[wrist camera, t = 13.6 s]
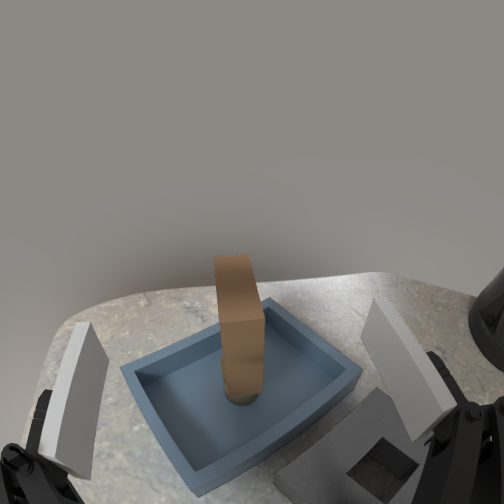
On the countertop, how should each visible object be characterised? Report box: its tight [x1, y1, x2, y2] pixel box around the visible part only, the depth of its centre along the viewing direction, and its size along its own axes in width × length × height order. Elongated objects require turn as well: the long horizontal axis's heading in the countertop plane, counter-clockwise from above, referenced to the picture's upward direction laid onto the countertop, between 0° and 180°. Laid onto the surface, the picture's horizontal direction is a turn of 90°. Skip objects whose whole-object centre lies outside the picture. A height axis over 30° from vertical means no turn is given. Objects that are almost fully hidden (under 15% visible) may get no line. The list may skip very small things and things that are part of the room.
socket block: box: [273, 387, 434, 504], centre depth 14 cm, size 10×10×4 cm
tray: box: [120, 297, 363, 497], centre depth 22 cm, size 16×12×3 cm
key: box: [214, 254, 265, 406], centre depth 19 cm, size 6×3×12 cm, turn 9°
